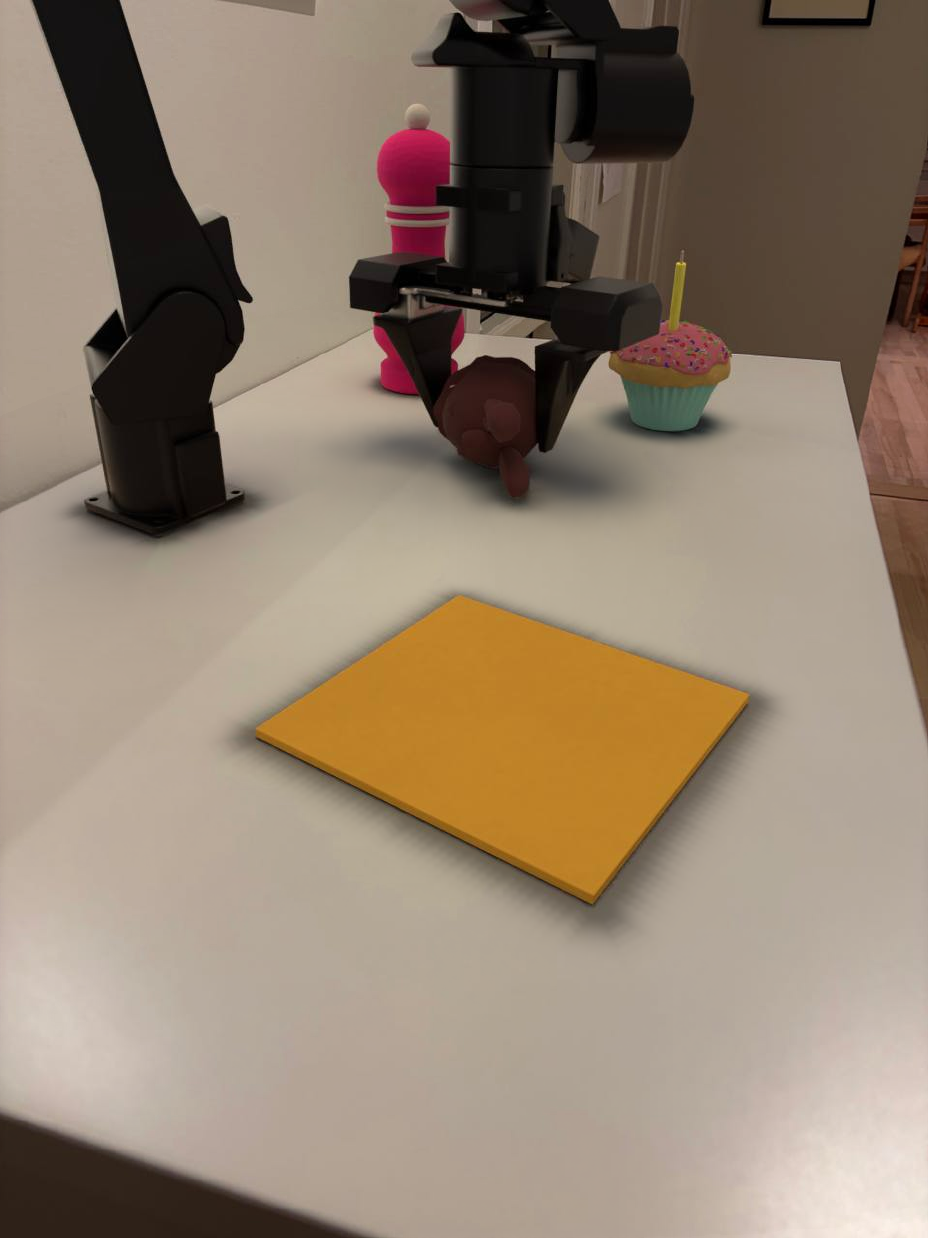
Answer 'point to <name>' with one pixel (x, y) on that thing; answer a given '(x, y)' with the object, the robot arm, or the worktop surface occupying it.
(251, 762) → the worktop surface
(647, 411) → the cupcake
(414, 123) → the pepper mill
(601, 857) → the flat square board
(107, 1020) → the worktop surface
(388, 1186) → the worktop surface
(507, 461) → the brown lumpy figure
